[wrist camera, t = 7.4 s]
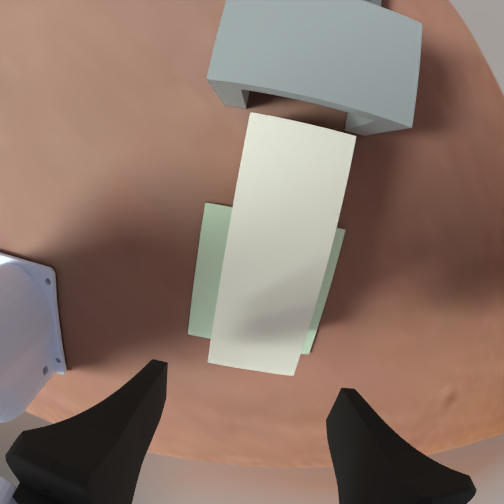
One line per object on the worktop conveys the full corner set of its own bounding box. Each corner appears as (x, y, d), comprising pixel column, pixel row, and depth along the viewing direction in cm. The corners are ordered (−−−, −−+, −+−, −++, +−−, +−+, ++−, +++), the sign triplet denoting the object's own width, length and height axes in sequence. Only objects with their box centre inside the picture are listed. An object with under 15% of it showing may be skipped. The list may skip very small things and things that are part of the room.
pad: (308, 352, 20) (308, 354, 20) (188, 332, 20) (187, 334, 20) (344, 229, 18) (345, 229, 17) (205, 202, 17) (205, 202, 17)
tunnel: (364, 135, 16) (411, 127, 10) (224, 105, 16) (206, 79, 10) (376, 58, 15) (422, 23, 9) (241, 27, 14) (233, -26, 9)
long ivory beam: (287, 336, 19) (293, 375, 15) (216, 324, 19) (207, 362, 15) (334, 141, 16) (356, 136, 12) (252, 123, 16) (250, 112, 12)
